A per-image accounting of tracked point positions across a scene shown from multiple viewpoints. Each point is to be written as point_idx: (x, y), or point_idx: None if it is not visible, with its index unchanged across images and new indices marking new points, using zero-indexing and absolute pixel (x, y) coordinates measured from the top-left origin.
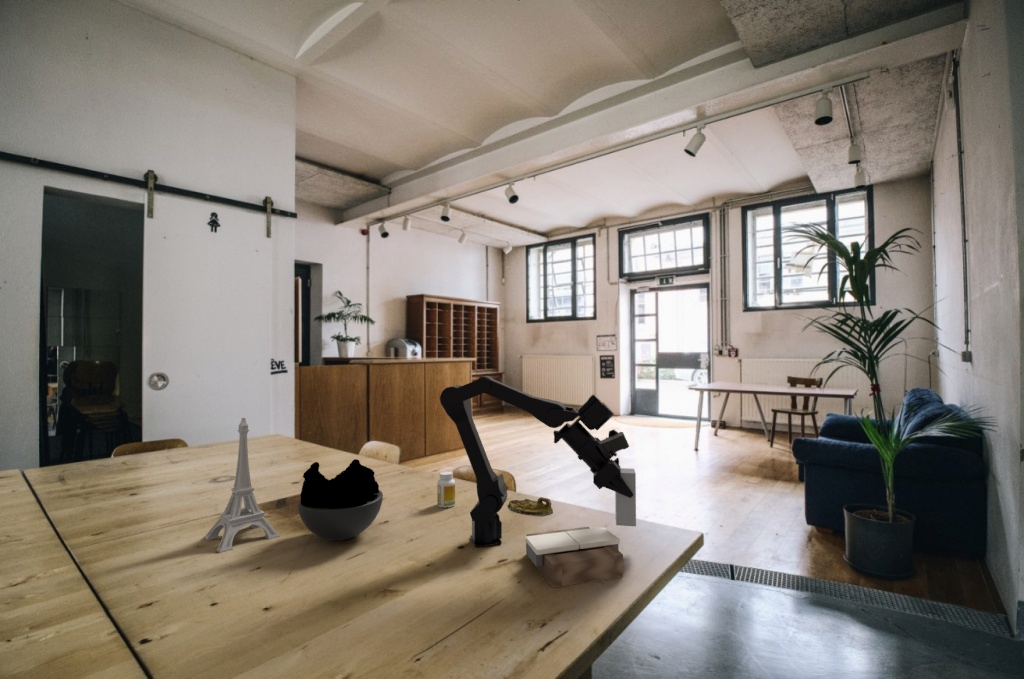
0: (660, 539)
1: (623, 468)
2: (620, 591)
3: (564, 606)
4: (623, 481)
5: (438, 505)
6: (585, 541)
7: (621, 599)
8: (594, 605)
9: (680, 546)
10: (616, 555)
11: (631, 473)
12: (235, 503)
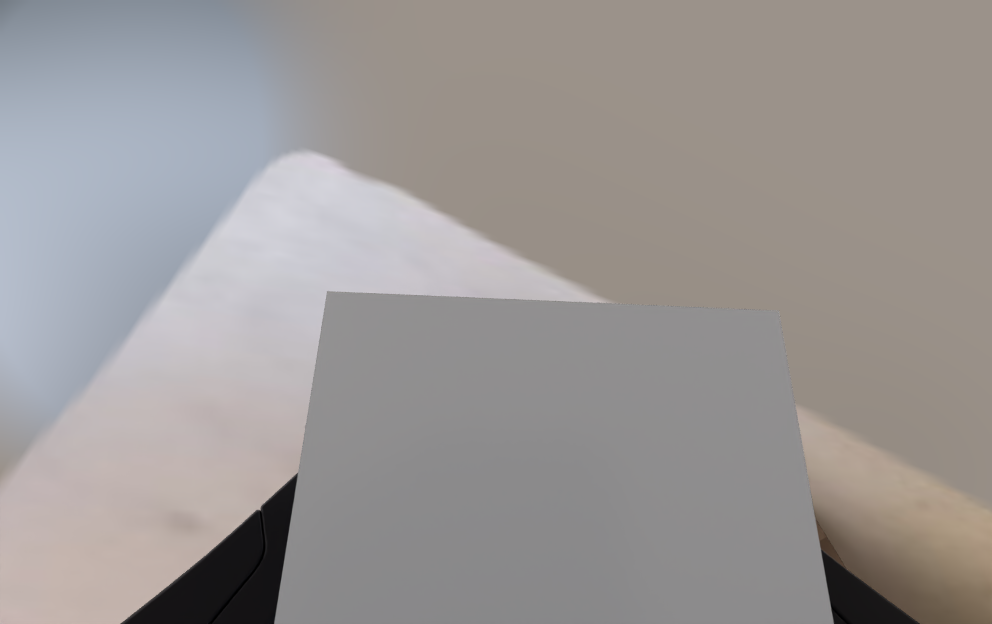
0: (360, 282)
1: (308, 591)
2: (846, 495)
3: None
4: (848, 577)
5: None
6: None
7: (899, 496)
8: (980, 603)
9: (425, 223)
10: (817, 523)
11: (793, 404)
12: None
